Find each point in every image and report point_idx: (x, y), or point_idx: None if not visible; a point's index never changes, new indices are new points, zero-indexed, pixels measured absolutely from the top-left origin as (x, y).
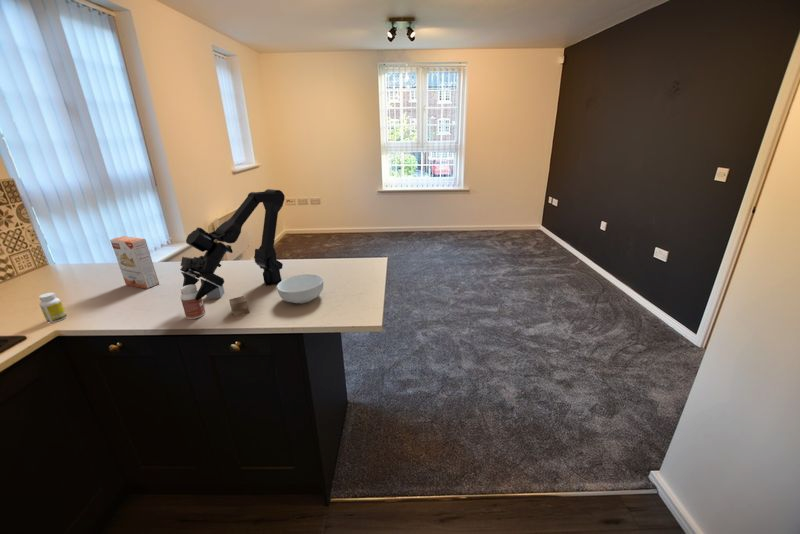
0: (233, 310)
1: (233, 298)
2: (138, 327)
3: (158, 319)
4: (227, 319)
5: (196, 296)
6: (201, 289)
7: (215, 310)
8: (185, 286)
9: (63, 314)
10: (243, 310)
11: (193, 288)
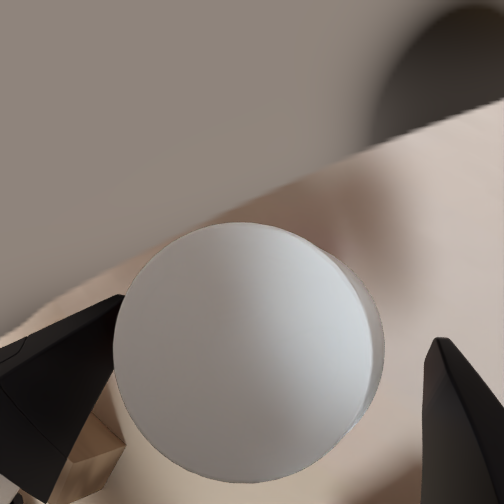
0: None
1: (65, 478)
2: (450, 122)
3: (462, 206)
4: None
5: (97, 306)
6: (11, 345)
7: None
8: (321, 359)
9: None
10: None
11: (118, 358)
